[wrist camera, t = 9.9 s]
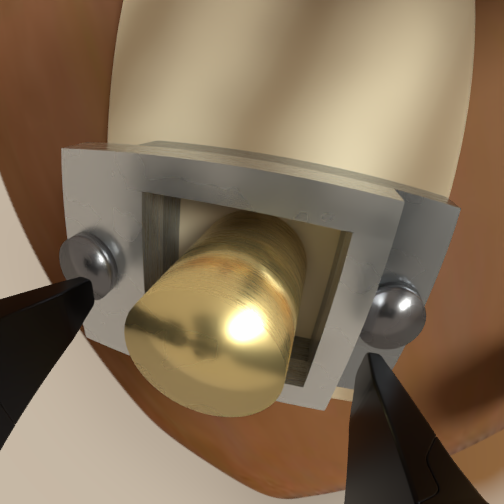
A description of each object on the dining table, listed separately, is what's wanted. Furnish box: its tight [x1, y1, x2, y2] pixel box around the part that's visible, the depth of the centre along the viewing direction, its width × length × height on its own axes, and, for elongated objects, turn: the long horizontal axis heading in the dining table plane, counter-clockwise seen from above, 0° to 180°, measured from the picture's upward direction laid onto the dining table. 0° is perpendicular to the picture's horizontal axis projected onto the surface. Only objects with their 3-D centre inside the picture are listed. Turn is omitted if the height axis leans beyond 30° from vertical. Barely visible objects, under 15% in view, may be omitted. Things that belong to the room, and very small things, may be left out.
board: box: [108, 0, 475, 401], centre depth 12 cm, size 14×22×1 cm, turn 173°
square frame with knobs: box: [59, 140, 461, 411], centre depth 11 cm, size 14×9×4 cm, turn 83°
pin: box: [124, 210, 307, 417], centre depth 10 cm, size 4×4×6 cm
